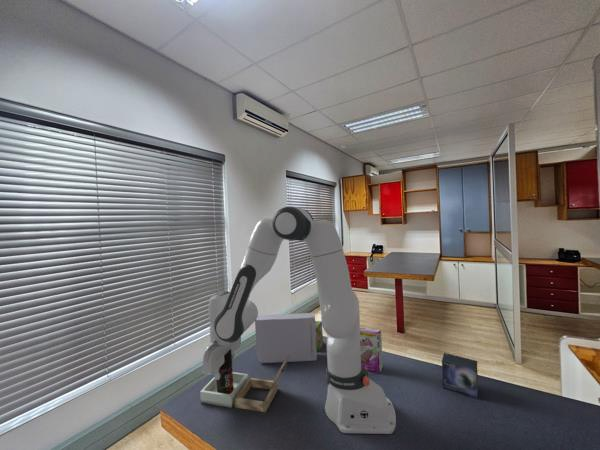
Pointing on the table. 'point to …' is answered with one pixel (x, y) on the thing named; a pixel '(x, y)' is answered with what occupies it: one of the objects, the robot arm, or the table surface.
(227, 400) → the tray
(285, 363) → the beige flat board
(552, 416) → the table surface
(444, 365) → the small box
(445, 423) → the table surface
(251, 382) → the frame
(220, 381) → the deodorant
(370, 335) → the candy bar box
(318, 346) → the chalk box
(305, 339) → the game console
